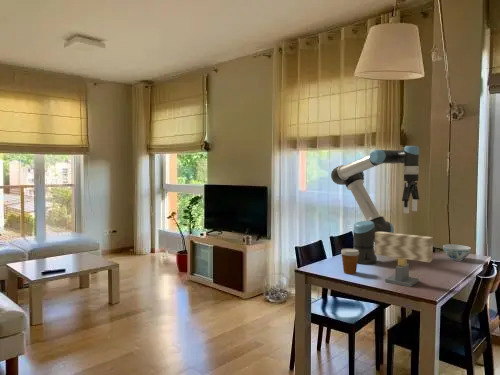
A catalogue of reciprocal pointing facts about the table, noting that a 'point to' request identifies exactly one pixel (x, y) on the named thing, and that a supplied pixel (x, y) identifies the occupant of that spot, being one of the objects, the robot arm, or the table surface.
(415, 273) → the table surface
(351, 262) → the disposable coffee cup
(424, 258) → the birch beam
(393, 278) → the stand
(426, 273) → the table surface
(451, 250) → the chinaware
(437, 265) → the table surface
